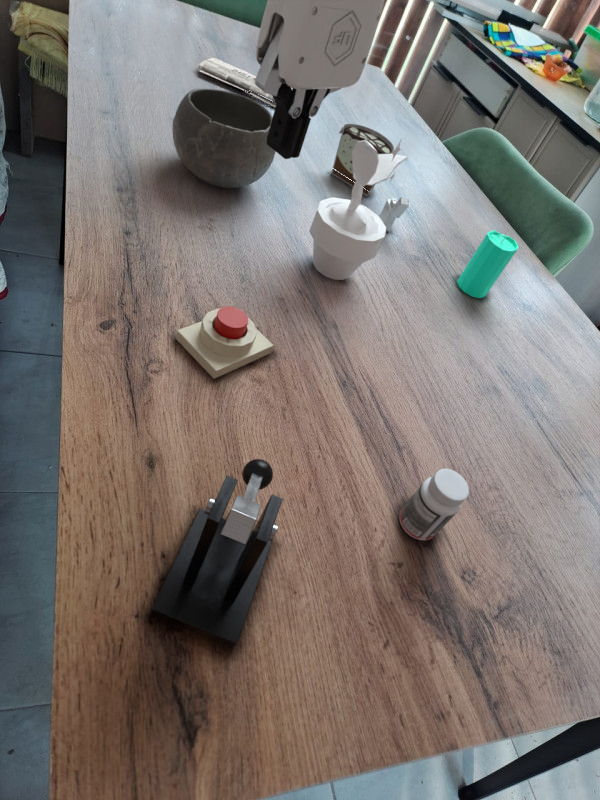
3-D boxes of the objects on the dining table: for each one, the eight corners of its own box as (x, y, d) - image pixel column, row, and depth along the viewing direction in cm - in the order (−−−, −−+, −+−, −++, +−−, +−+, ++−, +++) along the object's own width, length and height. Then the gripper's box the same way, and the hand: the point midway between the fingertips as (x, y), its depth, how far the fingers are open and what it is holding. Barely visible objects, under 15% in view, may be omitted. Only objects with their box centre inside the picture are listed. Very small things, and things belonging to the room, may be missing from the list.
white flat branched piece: (378, 218, 112) (395, 181, 107) (386, 220, 113) (403, 183, 107) (383, 238, 108) (401, 200, 102) (391, 240, 108) (410, 203, 103)
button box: (213, 379, 71) (219, 359, 68) (175, 338, 73) (179, 318, 71) (271, 353, 77) (278, 334, 74) (233, 316, 79) (239, 297, 77)
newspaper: (194, 74, 131) (196, 62, 129) (213, 67, 140) (215, 56, 139) (284, 114, 131) (287, 103, 130) (297, 105, 141) (300, 94, 139)
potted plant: (323, 296, 89) (389, 143, 72) (285, 251, 94) (337, 98, 77) (380, 286, 96) (453, 145, 79) (342, 244, 101) (402, 103, 84)
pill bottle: (431, 507, 68) (467, 468, 62) (439, 543, 65) (477, 506, 59) (395, 502, 67) (428, 461, 61) (401, 539, 63) (436, 500, 58)
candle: (491, 292, 107) (528, 238, 98) (477, 302, 103) (515, 246, 94) (465, 273, 109) (500, 219, 100) (451, 282, 105) (486, 226, 96)
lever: (240, 475, 58) (251, 450, 57) (267, 487, 58) (278, 461, 57) (214, 535, 45) (227, 503, 44) (249, 549, 45) (263, 518, 45)
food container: (386, 193, 121) (406, 148, 114) (373, 200, 117) (393, 154, 110) (339, 163, 123) (356, 118, 116) (325, 170, 119) (342, 123, 112)
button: (227, 343, 71) (231, 331, 69) (207, 323, 72) (210, 311, 71) (250, 333, 73) (254, 322, 72) (231, 314, 75) (234, 302, 73)
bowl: (198, 209, 95) (213, 135, 86) (148, 151, 102) (157, 77, 93) (282, 201, 105) (303, 135, 96) (232, 149, 112) (247, 83, 103)
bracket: (197, 514, 58) (223, 439, 49) (270, 544, 58) (309, 475, 49) (149, 614, 50) (171, 547, 41) (234, 648, 50) (273, 589, 41)
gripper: (318, -75, 37) (250, 181, 50) (438, -47, 47) (355, 163, 60) (245, -118, 40) (198, 137, 52) (373, -83, 49) (306, 126, 62)
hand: (282, 150), depth 56 cm, fingers closed
